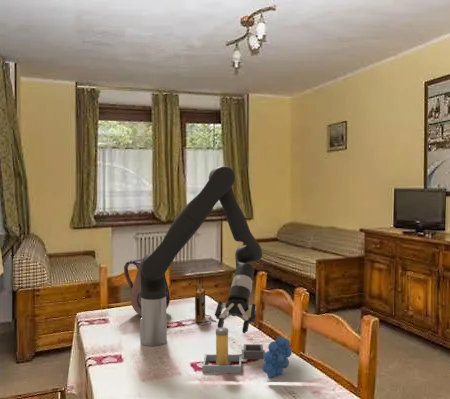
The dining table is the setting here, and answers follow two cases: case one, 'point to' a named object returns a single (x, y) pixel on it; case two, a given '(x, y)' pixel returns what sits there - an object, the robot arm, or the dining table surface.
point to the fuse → (222, 346)
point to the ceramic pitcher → (139, 287)
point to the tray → (221, 367)
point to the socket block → (253, 351)
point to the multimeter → (200, 303)
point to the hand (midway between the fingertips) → (231, 331)
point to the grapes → (277, 357)
